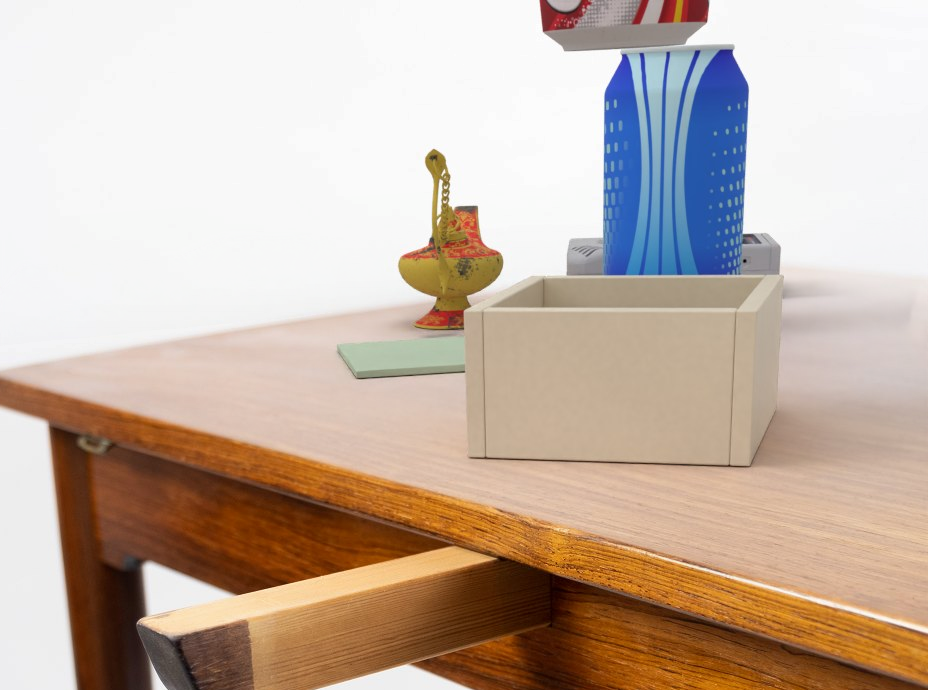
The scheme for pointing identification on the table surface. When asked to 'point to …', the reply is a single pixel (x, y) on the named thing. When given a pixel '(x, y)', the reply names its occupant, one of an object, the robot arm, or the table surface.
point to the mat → (404, 357)
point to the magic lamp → (450, 257)
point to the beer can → (675, 162)
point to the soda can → (621, 22)
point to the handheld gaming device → (756, 260)
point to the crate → (624, 368)
